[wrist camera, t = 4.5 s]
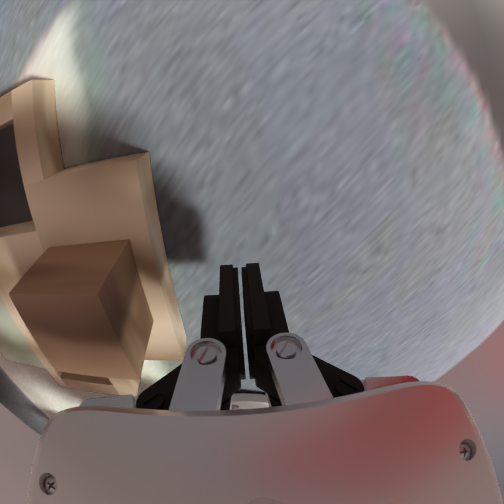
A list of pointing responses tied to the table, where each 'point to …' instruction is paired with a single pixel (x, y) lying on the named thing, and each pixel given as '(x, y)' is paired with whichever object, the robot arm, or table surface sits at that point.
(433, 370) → the table surface
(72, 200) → the board
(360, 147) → the table surface
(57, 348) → the walnut block
